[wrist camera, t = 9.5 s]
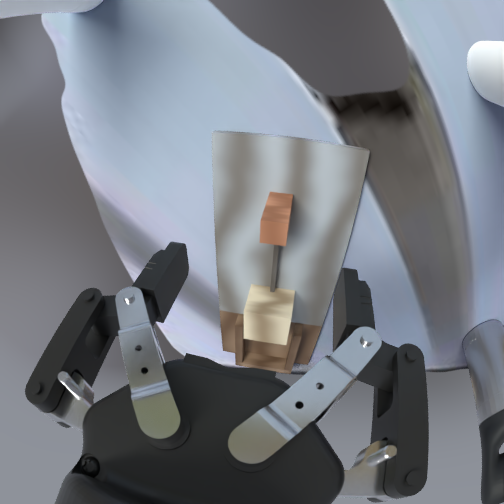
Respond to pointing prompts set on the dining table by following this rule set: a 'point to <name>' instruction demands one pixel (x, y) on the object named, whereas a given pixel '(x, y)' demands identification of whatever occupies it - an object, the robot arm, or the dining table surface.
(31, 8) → the bottle
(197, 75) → the dining table surface
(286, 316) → the rod-linked blocks
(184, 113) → the dining table surface
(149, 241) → the dining table surface
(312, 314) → the lane rack
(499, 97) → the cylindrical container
